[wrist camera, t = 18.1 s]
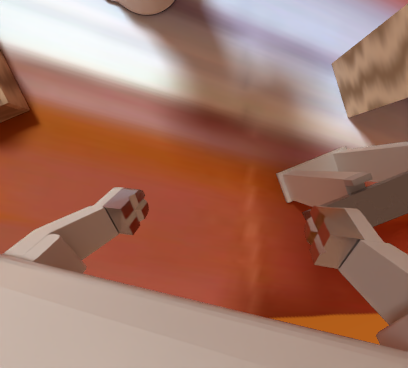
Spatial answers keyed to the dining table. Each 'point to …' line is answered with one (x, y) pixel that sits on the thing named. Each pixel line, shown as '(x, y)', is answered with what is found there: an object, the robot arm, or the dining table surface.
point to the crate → (10, 93)
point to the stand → (375, 67)
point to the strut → (376, 200)
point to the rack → (342, 172)
